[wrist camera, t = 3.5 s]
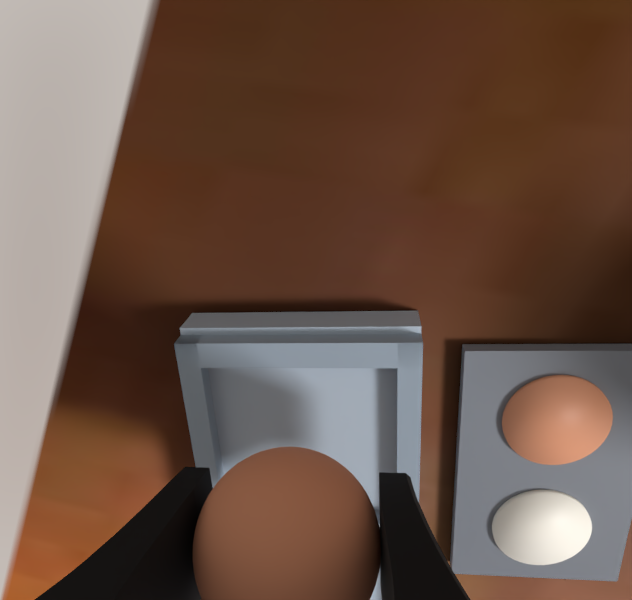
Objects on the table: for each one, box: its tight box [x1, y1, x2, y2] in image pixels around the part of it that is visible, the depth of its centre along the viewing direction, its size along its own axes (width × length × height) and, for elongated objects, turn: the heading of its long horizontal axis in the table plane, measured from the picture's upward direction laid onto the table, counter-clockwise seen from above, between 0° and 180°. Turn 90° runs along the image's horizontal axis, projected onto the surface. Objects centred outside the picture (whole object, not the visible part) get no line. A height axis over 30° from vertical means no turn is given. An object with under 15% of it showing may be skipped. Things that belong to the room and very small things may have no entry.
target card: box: [450, 344, 632, 581], centre depth 15 cm, size 5×8×1 cm, turn 3°
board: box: [174, 311, 423, 600], centre depth 17 cm, size 6×20×2 cm, turn 3°
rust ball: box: [193, 446, 381, 600], centre depth 11 cm, size 4×4×4 cm
